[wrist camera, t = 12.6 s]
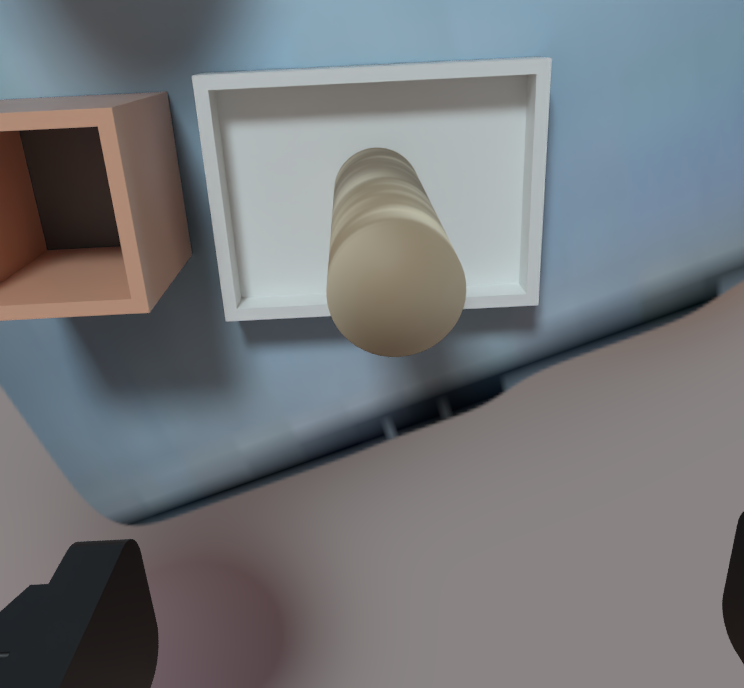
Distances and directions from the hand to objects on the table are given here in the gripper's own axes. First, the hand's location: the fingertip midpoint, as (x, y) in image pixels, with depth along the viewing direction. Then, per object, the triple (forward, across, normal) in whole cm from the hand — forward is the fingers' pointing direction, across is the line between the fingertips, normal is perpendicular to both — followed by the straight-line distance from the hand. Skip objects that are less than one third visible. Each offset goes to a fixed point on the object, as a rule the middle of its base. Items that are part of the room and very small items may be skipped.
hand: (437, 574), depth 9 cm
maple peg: (+25, 0, 0) cm, 25 cm away
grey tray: (+26, 0, 0) cm, 26 cm away
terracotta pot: (+26, +13, -1) cm, 29 cm away
